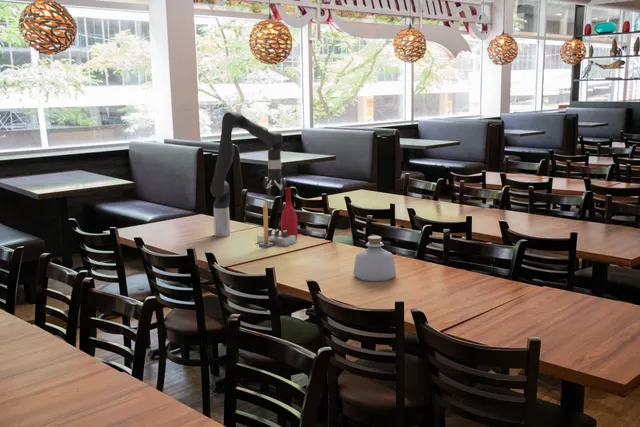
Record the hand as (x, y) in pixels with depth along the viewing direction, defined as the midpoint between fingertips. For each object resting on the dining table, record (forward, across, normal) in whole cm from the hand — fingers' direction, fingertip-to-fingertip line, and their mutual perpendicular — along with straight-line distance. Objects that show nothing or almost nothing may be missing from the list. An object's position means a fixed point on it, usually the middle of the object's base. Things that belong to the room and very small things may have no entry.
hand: (275, 195), depth 376 cm
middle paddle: (+23, 0, 0) cm, 23 cm away
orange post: (+27, 0, +10) cm, 29 cm away
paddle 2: (+23, -5, 0) cm, 23 cm away
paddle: (+23, +5, 0) cm, 23 cm away
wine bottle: (+27, 0, -14) cm, 30 cm away
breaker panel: (+27, 0, 0) cm, 27 cm away
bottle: (+27, -80, +35) cm, 91 cm away
